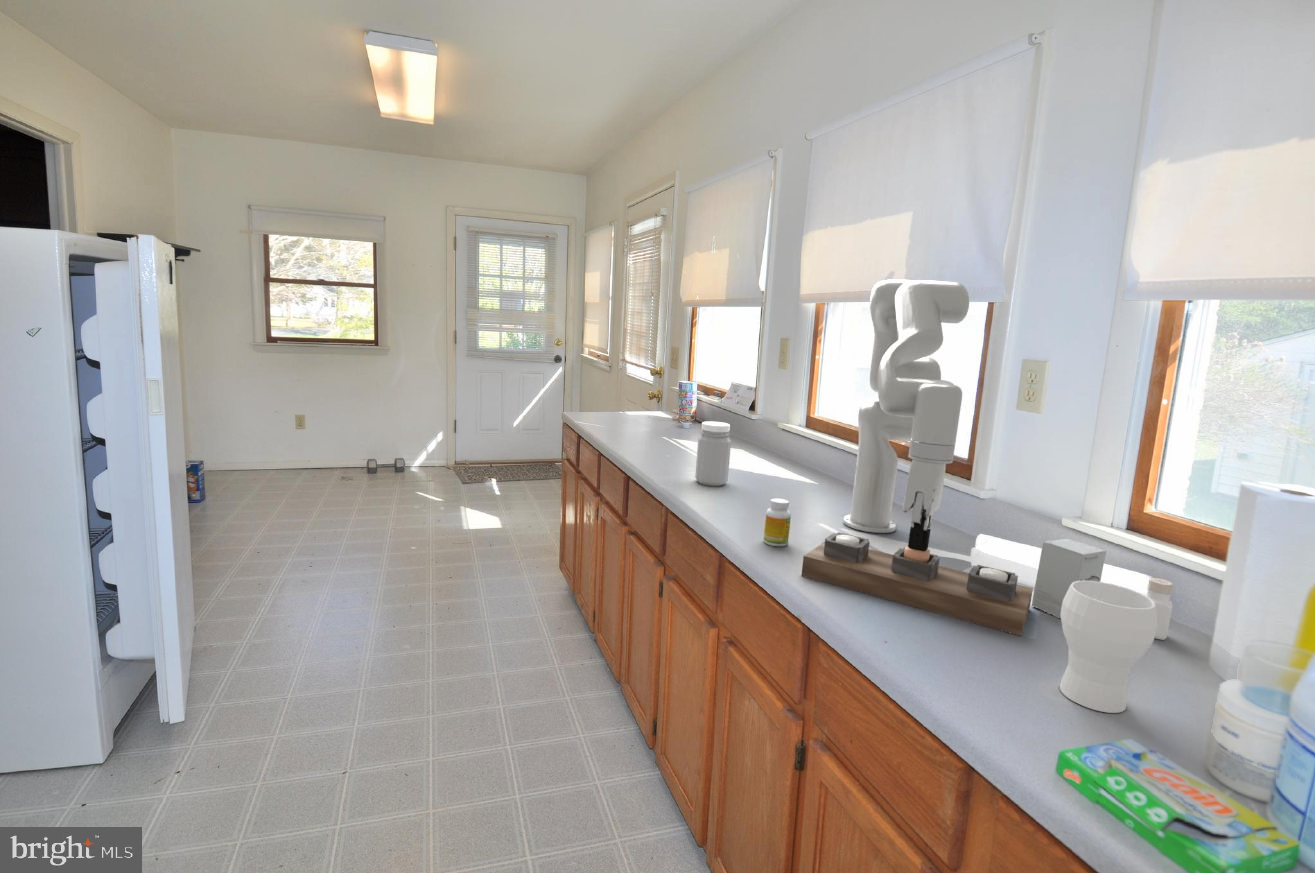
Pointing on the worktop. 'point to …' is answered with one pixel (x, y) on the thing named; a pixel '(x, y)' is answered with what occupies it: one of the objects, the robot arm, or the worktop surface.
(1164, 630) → the pepper shaker
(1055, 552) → the supplement box
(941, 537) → the worktop surface
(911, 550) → the terracotta plunger
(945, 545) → the worktop surface
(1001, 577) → the off-white plunger
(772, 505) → the supplement bottle
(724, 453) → the jar
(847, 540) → the off-white plunger
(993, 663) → the worktop surface
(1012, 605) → the button board
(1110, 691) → the cup
